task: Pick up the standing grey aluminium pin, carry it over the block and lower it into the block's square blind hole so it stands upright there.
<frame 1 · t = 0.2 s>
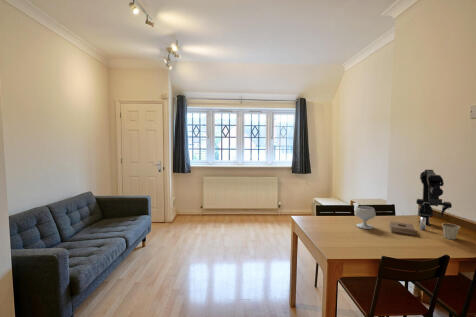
hand: (432, 215, 168), 14 cm above the table, fingers open, 9 cm apart
flower pot: (450, 238, 163), on the table
chalice: (364, 227, 186), on the table
bore block: (401, 230, 177), on the table
pin: (422, 229, 179), on the table
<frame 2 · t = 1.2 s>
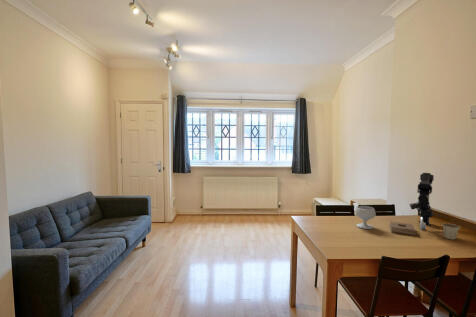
hand: (423, 220, 179), 6 cm above the table, fingers open, 9 cm apart
nothing on the table moved.
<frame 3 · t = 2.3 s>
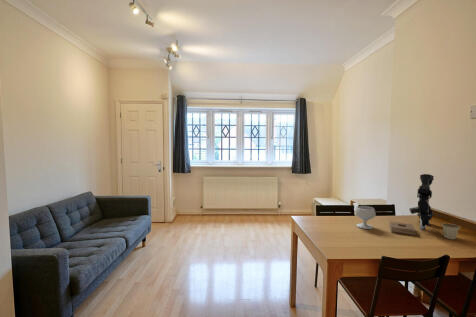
hand: (422, 225, 179), 3 cm above the table, fingers closed on pin, 3 cm apart
pin: (422, 229, 179), on the table, touching gripper
everything else where it was.
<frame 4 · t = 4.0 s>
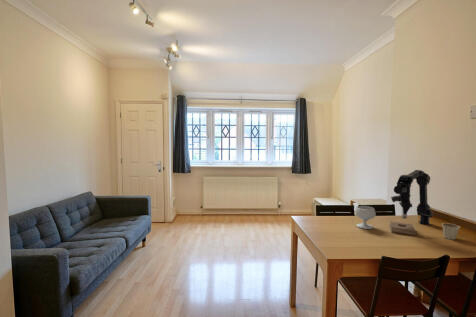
hand: (404, 213, 176), 13 cm above the table, fingers closed on pin, 3 cm apart
pin: (404, 218, 176), point 10 cm above the table, touching gripper
everything else where it was.
when the fingers open (4 cm above the table, at t = 5.6 s): pin stays where it is, resting on bore block.
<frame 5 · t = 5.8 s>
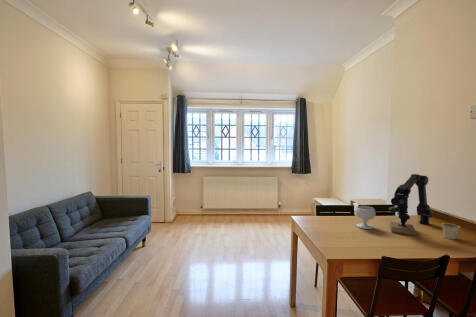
hand: (402, 224, 176), 4 cm above the table, fingers open, 5 cm apart
pin: (402, 229, 177), point 1 cm above the table, touching bore block
everything else where it was.
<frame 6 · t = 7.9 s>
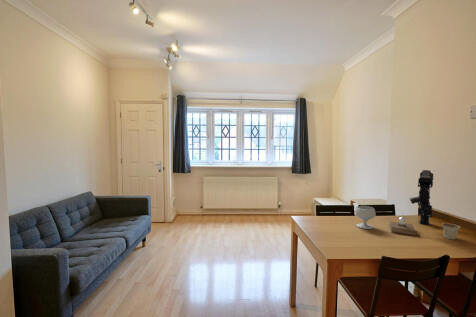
hand: (423, 215, 175), 12 cm above the table, fingers open, 9 cm apart
nothing on the table moved.
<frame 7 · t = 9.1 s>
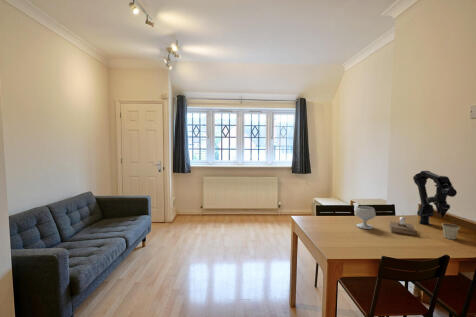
hand: (440, 215, 174), 12 cm above the table, fingers open, 9 cm apart
nothing on the table moved.
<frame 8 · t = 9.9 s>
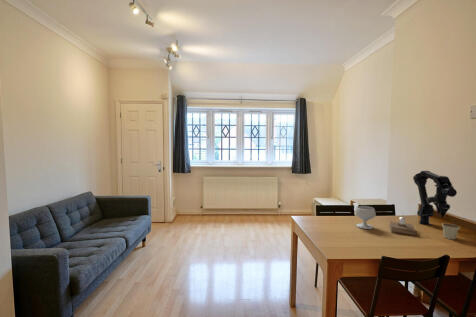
hand: (440, 215, 174), 12 cm above the table, fingers open, 9 cm apart
nothing on the table moved.
at the end: pin 0.1 cm off-centre on the bore block, point 1.0 cm above the bore block's base; pin tilted 1°; the gripper is holding nothing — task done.
